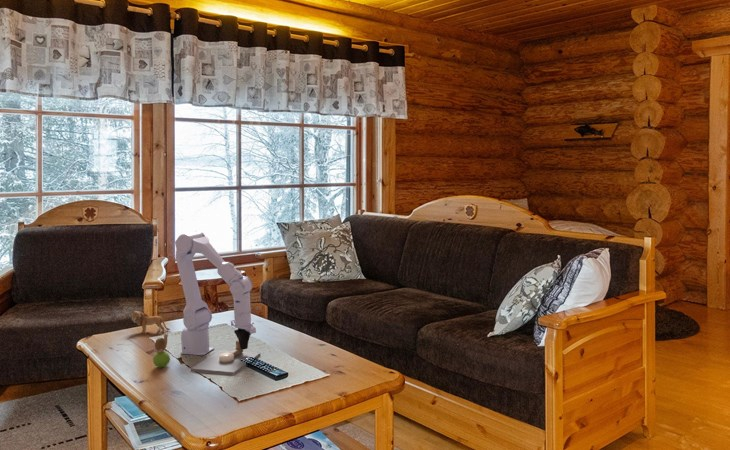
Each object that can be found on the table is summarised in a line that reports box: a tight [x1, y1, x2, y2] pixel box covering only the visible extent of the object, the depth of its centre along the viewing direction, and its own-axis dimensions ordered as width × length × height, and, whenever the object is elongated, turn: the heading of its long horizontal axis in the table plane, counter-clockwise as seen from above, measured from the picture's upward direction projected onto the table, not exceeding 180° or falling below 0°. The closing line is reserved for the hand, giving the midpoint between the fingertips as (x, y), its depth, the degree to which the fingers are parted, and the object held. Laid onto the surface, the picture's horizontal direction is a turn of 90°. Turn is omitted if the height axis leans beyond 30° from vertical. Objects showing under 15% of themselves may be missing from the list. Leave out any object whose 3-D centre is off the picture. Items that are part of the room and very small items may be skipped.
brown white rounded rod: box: [219, 339, 244, 362], centre depth 217 cm, size 12×5×4 cm, turn 157°
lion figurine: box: [131, 310, 170, 334], centre depth 253 cm, size 15×5×9 cm, turn 97°
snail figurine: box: [152, 329, 171, 368], centre depth 211 cm, size 5×6×12 cm
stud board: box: [190, 349, 261, 376], centre depth 214 cm, size 18×20×1 cm
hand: (244, 349), depth 220 cm, fingers closed
